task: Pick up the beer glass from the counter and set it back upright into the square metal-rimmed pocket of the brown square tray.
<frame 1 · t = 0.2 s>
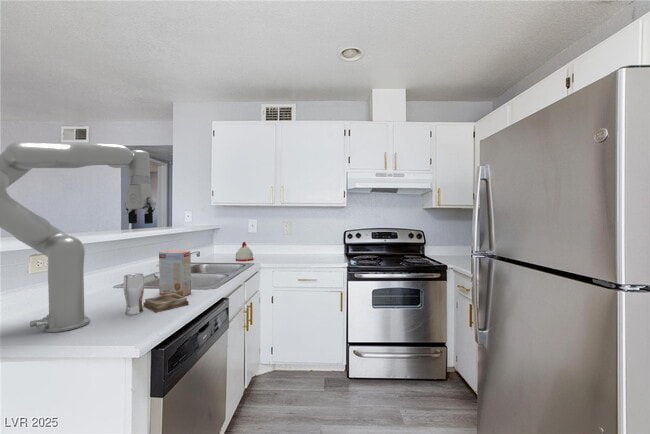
hand: (140, 223, 124), 35 cm above the worktop, tool pointing down, fingers open, 9 cm apart
beer glass: (134, 313, 120), on the worktop
cracker box: (175, 294, 147), on the worktop
brown square tray: (166, 305, 129), on the worktop
cream dome with knob: (244, 260, 249), on the worktop
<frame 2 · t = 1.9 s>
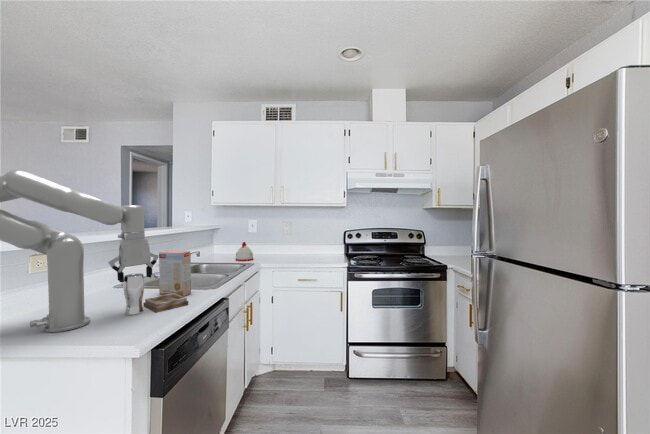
hand: (135, 279, 120), 13 cm above the worktop, tool pointing down, fingers open, 9 cm apart
nothing on the worktop moved.
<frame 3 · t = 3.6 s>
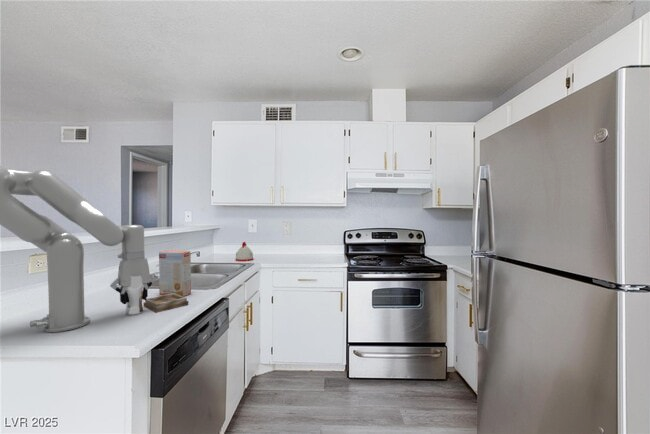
hand: (134, 301, 120), 5 cm above the worktop, tool pointing down, fingers closed on beer glass, 6 cm apart
beer glass: (134, 313, 120), on the worktop, touching gripper
everything else where it was.
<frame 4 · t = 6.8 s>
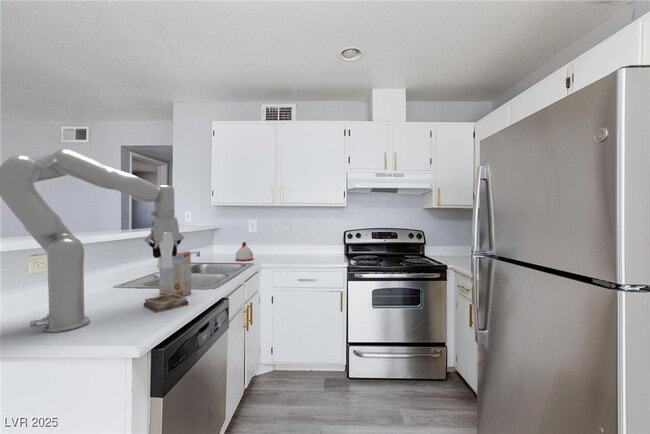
hand: (165, 256, 129), 21 cm above the worktop, tool pointing down, fingers closed on beer glass, 6 cm apart
beer glass: (165, 267, 129), point 16 cm above the worktop, touching gripper
everything else where it was.
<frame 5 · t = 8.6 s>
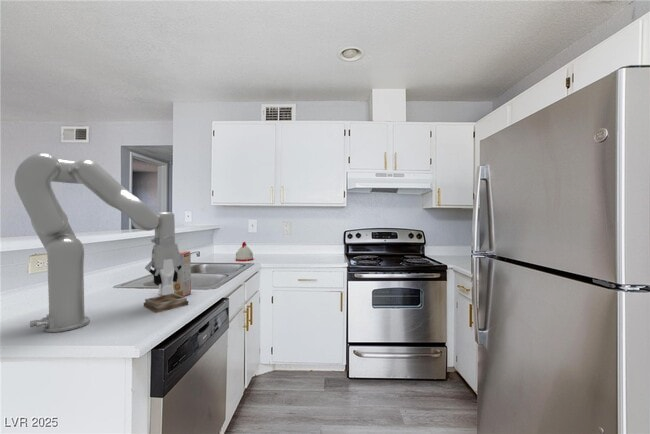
hand: (166, 282, 129), 10 cm above the worktop, tool pointing down, fingers closed on beer glass, 6 cm apart
beer glass: (166, 294, 129), point 5 cm above the worktop, touching gripper
everything else where it was.
when the fingers open (8 cm above the worktop, at t = 10.1 s): beer glass drops 1 cm, resting on brown square tray.
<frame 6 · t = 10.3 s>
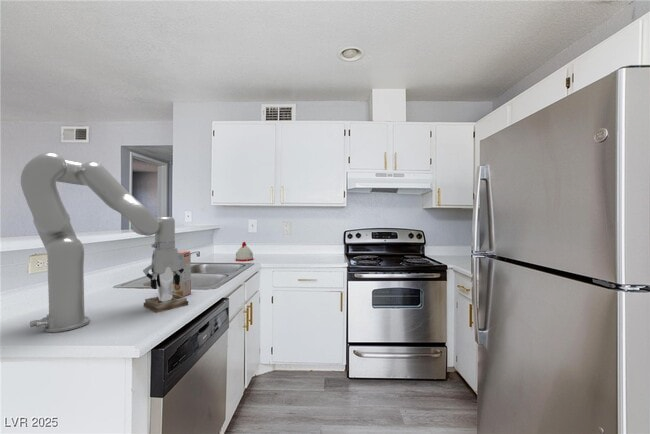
hand: (165, 286, 129), 8 cm above the worktop, tool pointing down, fingers open, 8 cm apart
beer glass: (165, 302, 129), point 1 cm above the worktop, touching brown square tray
everything else where it was.
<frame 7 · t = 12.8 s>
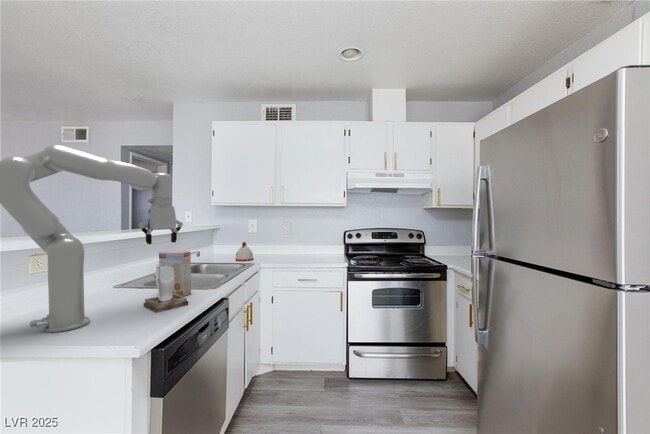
hand: (161, 243, 129), 27 cm above the worktop, tool pointing down, fingers open, 9 cm apart
nothing on the worktop moved.
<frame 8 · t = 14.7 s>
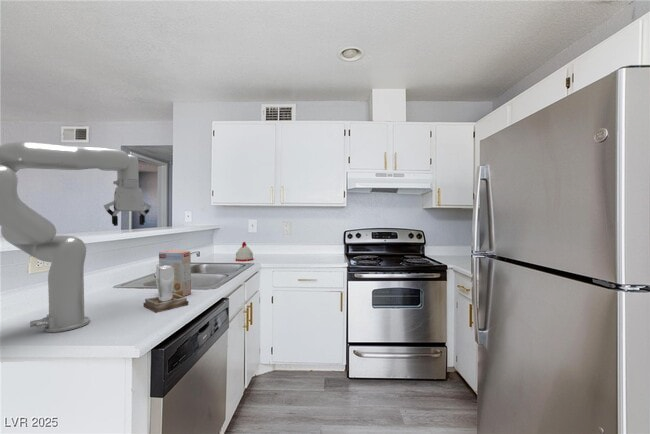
hand: (129, 225, 128), 34 cm above the worktop, tool pointing down, fingers open, 9 cm apart
nothing on the worktop moved.
at the end: beer glass 0.2 cm off-centre on the brown square tray, point 1.3 cm above the brown square tray's base; beer glass tilted 0°; the gripper is holding nothing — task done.
